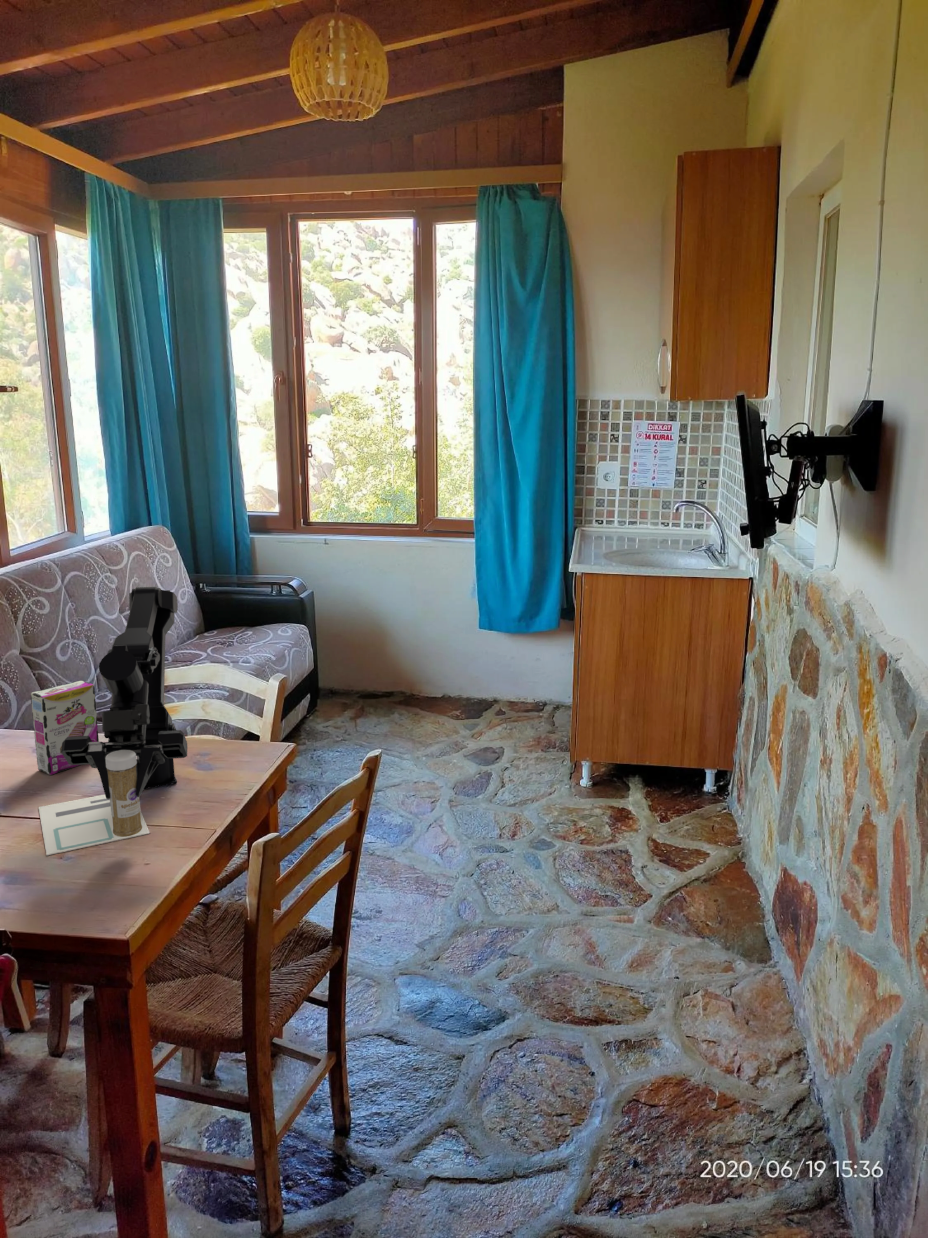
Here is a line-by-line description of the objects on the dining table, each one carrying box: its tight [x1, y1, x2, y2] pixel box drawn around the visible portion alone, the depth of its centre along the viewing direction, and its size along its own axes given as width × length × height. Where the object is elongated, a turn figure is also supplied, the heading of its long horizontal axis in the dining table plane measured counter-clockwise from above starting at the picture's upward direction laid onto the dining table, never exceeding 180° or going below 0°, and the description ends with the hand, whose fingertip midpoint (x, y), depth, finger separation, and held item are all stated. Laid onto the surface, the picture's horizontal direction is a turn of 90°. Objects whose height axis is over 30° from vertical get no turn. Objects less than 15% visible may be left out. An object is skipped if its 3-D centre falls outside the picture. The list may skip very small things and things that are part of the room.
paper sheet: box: [38, 794, 151, 857], centre depth 153 cm, size 16×20×1 cm
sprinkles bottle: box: [105, 750, 142, 837], centre depth 140 cm, size 5×5×13 cm
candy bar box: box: [30, 680, 100, 776], centre depth 175 cm, size 11×5×16 cm, turn 144°
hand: (122, 797), depth 138 cm, fingers closed on sprinkles bottle, 4 cm apart
